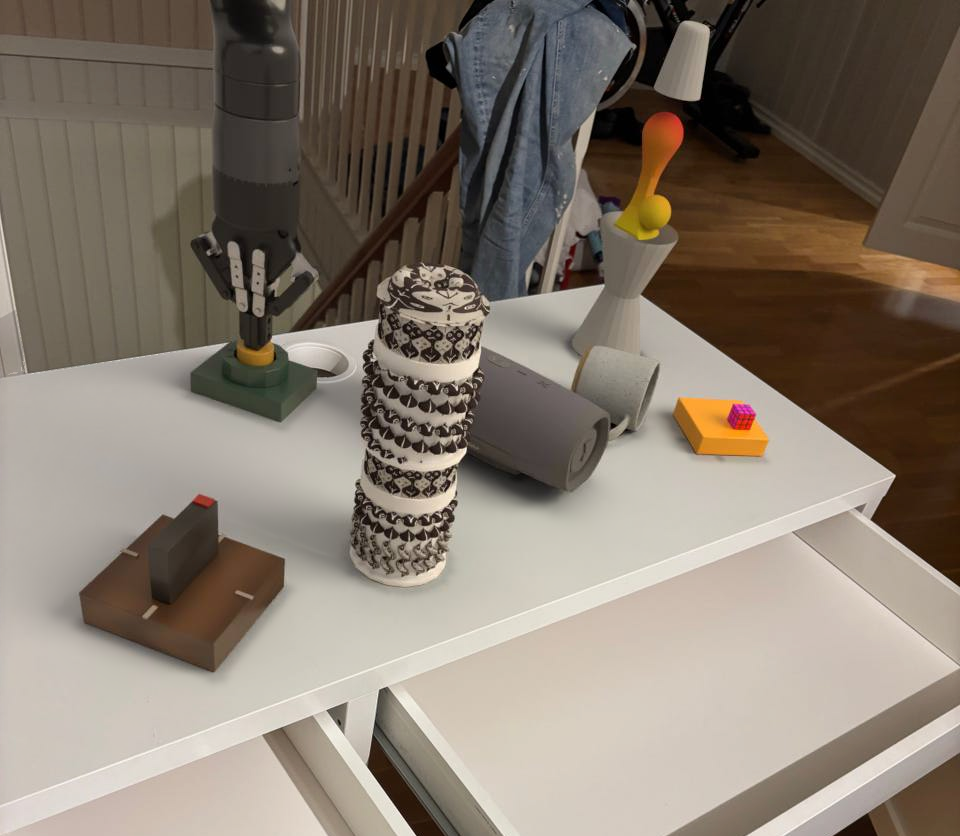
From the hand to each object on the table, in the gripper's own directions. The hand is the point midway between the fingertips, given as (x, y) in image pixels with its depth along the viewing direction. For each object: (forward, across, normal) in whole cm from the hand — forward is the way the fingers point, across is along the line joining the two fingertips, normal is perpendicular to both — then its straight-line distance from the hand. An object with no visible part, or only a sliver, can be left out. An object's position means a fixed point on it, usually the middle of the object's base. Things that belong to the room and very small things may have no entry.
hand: (256, 345), depth 96 cm
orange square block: (+5, +46, +21) cm, 51 cm away
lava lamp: (+5, +30, +33) cm, 45 cm away
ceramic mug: (+5, +34, +16) cm, 38 cm away
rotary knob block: (+5, +11, -31) cm, 33 cm away
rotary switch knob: (+2, +11, -31) cm, 33 cm away
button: (+2, 0, 0) cm, 2 cm away
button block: (+5, 0, 0) cm, 5 cm away
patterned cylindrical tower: (+5, +23, -17) cm, 29 cm away
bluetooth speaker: (+5, +24, +3) cm, 25 cm away
